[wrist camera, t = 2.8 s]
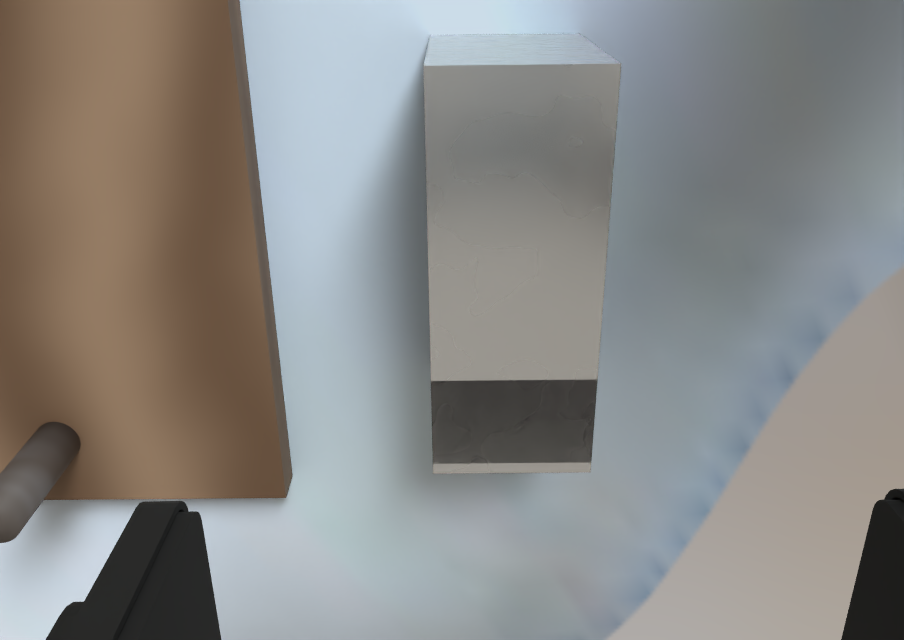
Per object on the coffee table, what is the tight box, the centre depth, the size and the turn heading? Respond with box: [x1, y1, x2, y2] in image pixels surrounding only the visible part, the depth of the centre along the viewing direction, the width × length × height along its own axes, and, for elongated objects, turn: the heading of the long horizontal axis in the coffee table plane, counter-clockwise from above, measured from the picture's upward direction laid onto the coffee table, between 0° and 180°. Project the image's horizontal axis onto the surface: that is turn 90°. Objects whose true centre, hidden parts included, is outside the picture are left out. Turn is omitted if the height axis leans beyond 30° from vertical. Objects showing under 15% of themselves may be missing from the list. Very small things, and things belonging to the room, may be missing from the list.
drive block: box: [423, 33, 621, 474], centre depth 21 cm, size 4×10×6 cm, turn 1°
